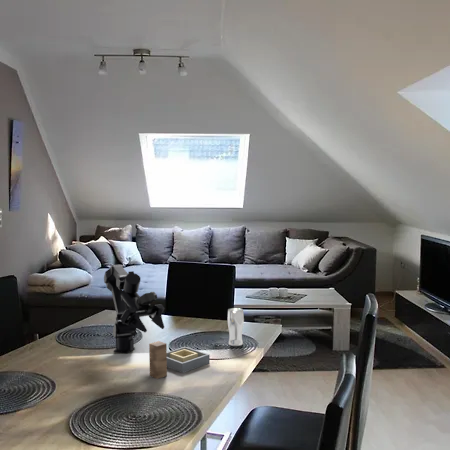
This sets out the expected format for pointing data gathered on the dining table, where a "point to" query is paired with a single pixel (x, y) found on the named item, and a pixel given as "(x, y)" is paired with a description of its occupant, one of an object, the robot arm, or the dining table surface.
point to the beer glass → (235, 326)
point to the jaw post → (158, 359)
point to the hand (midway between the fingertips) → (154, 329)
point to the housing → (186, 359)
